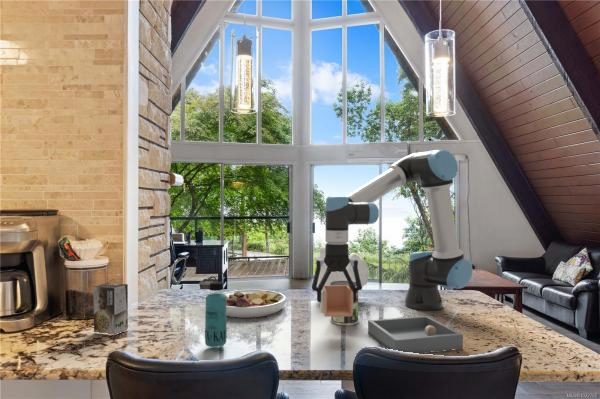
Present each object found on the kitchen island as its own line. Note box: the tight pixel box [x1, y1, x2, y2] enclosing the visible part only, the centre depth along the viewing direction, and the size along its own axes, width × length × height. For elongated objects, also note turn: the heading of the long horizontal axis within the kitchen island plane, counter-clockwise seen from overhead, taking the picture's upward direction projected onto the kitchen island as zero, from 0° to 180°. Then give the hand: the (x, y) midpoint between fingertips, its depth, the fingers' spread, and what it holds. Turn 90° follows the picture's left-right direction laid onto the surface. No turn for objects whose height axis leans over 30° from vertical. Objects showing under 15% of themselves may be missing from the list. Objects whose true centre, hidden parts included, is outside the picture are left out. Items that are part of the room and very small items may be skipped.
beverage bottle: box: [204, 281, 228, 348], centre depth 123 cm, size 6×7×20 cm
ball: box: [425, 325, 437, 336], centre depth 130 cm, size 4×4×4 cm
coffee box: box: [92, 282, 129, 335], centre depth 137 cm, size 9×6×16 cm
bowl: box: [222, 289, 286, 319], centre depth 167 cm, size 30×30×8 cm
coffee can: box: [330, 281, 359, 326], centre depth 150 cm, size 10×10×14 cm
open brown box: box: [322, 285, 353, 318], centre depth 134 cm, size 9×9×8 cm
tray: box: [367, 315, 464, 354], centre depth 129 cm, size 22×20×4 cm
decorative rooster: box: [314, 246, 370, 295], centre depth 178 cm, size 25×16×25 cm, turn 94°
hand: (336, 311), depth 133 cm, fingers closed on open brown box, 9 cm apart
